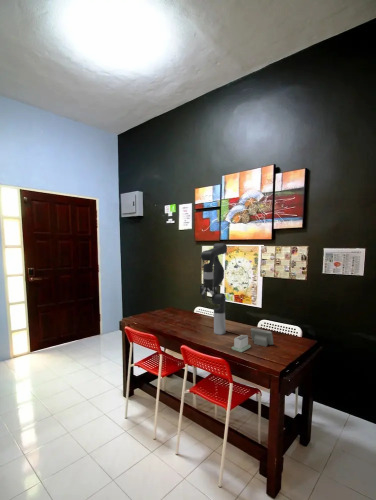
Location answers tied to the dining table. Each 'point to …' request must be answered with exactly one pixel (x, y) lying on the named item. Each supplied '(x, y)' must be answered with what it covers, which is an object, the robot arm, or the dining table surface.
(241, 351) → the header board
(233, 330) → the dining table surface
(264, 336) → the digital clock
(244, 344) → the plug housing
